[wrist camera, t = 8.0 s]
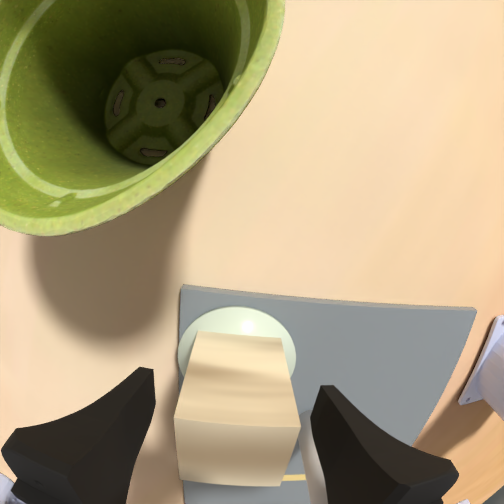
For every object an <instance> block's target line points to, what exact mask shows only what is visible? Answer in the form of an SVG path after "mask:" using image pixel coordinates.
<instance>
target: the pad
mask: <svg viewBox="0 0 504 504" xmlns="http://www.w3.org/2000/svg"><path fill="white" fill-rule="evenodd" d="M198 330H199V331H207V332H216V333H226V334H237V335H248V336H260V337H274V338H281V340H282V345H283V349H284V353H285V358H286V362H287V366H288V371H289V375H290V378H291V376H292V374H293V371H294V368H295V363H296V352H295V347H294V343H293V340H292V338H291V336H290V334H289V332H288V330H287V329H286V328H285V326H284V325H283V324H282V323H281V322H280V321H279V320H277V319H276V318H275V317H273V316H272V315H270V314H268V313H266V312H264V311H262V310H259V309H256V308H252V307H247V306H224V307H219V308H216V309H212V310H210V311H208V312H205V313H203V314H202V315H200V316H199V317H197V318H196V319H195V320H194V321H192V322H191V324H190V325H189V326H188V327H187V329H186V330H185V332H184V333H183V336H182V338H181V340H180V343H179V347H178V363H179V367H180V370H181V372H182V374H183V376H184V378H185V374H186V370H187V367H188V363H189V360H190V356H191V353H192V349H193V346H194V342H195V339H196V335H197V332H198Z"/></svg>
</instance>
